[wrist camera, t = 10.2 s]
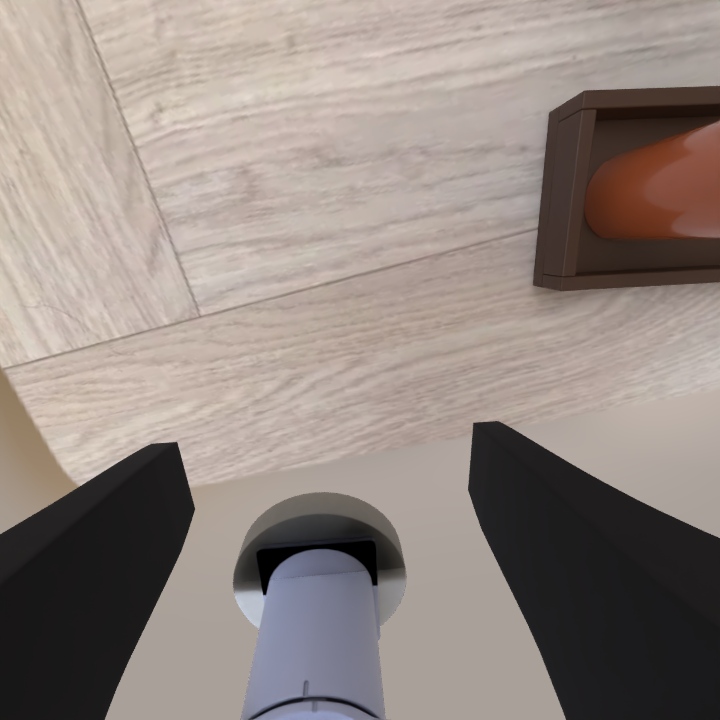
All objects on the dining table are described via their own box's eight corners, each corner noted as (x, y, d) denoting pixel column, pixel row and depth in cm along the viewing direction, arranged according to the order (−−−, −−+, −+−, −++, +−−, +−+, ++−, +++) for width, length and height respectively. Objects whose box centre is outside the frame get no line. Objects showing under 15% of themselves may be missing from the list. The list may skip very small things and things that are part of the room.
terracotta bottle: (655, 239, 16) (933, 233, 9) (577, 243, 16) (790, 240, 9) (672, 148, 15) (1007, 52, 8) (589, 152, 15) (844, 57, 7)
